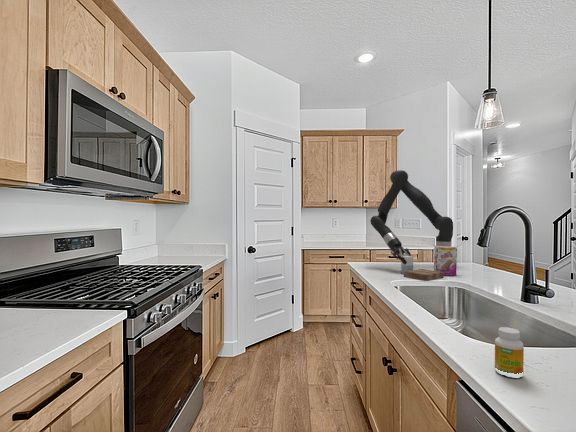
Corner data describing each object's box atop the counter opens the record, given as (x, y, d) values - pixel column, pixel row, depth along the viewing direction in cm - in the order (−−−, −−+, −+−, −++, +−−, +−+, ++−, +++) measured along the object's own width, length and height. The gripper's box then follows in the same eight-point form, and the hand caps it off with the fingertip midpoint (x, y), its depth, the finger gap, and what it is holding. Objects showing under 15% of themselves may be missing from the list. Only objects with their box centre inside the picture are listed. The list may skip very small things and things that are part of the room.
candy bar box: (436, 275, 197) (436, 247, 196) (433, 274, 202) (433, 246, 201) (457, 276, 195) (457, 247, 195) (453, 274, 200) (453, 246, 200)
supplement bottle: (497, 377, 75) (497, 332, 75) (492, 366, 80) (492, 324, 80) (526, 381, 73) (526, 335, 73) (519, 370, 78) (520, 327, 78)
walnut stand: (421, 274, 202) (421, 268, 202) (443, 277, 191) (443, 272, 191) (403, 276, 193) (403, 271, 193) (425, 280, 182) (425, 275, 182)
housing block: (406, 272, 208) (406, 255, 208) (413, 273, 204) (413, 256, 204) (401, 273, 205) (401, 256, 205) (407, 274, 201) (407, 257, 201)
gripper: (387, 237, 207) (404, 260, 197) (403, 236, 215) (420, 258, 205) (380, 246, 212) (397, 268, 202) (396, 244, 220) (412, 266, 210)
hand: (408, 263), depth 204 cm, fingers closed on housing block, 5 cm apart
